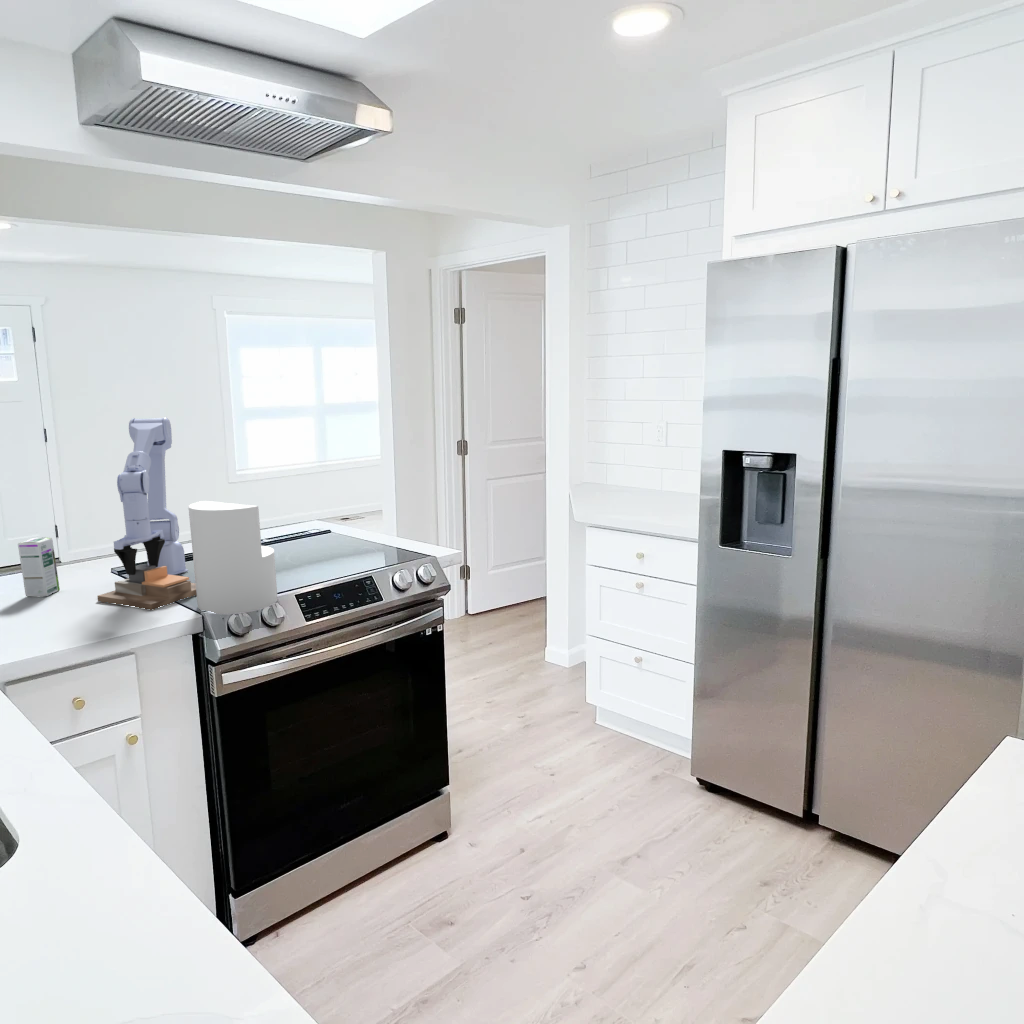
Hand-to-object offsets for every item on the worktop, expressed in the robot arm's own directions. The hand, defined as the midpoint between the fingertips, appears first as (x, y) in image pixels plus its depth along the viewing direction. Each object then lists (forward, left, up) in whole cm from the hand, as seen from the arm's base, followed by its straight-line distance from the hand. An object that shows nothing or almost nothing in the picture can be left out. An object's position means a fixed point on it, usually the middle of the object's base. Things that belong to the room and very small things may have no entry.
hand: (142, 570), depth 201 cm
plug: (0, -1, -5) cm, 5 cm away
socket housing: (0, +4, -6) cm, 7 cm away
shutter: (0, +8, -2) cm, 8 cm away
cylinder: (-4, +28, -7) cm, 29 cm away
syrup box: (+10, -26, -7) cm, 29 cm away
